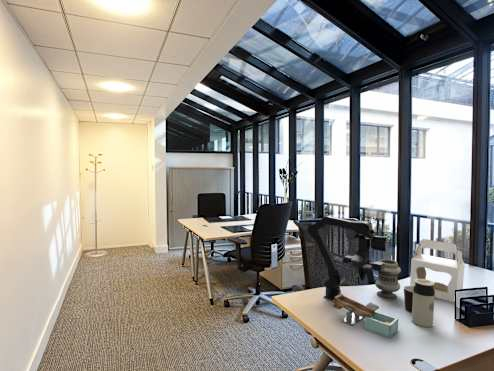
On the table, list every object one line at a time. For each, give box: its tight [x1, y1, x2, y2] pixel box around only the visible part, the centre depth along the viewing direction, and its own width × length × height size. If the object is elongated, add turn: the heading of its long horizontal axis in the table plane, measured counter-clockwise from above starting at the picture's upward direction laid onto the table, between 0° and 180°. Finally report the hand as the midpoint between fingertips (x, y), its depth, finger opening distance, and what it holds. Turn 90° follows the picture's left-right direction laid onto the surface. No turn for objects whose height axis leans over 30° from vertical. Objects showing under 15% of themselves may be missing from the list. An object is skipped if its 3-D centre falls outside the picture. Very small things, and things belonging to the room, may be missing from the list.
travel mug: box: [411, 279, 435, 328], centre depth 137 cm, size 8×8×18 cm
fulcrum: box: [341, 301, 364, 327], centre depth 139 cm, size 5×11×6 cm, turn 136°
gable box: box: [409, 238, 465, 303], centre depth 171 cm, size 22×13×28 cm, turn 45°
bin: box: [364, 310, 399, 339], centre depth 130 cm, size 10×9×5 cm
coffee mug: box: [403, 285, 414, 314], centre depth 150 cm, size 12×9×10 cm
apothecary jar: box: [374, 258, 402, 300], centre depth 167 cm, size 12×12×18 cm
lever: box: [332, 293, 380, 319], centre depth 142 cm, size 16×14×5 cm
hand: (362, 280), depth 153 cm, fingers closed
